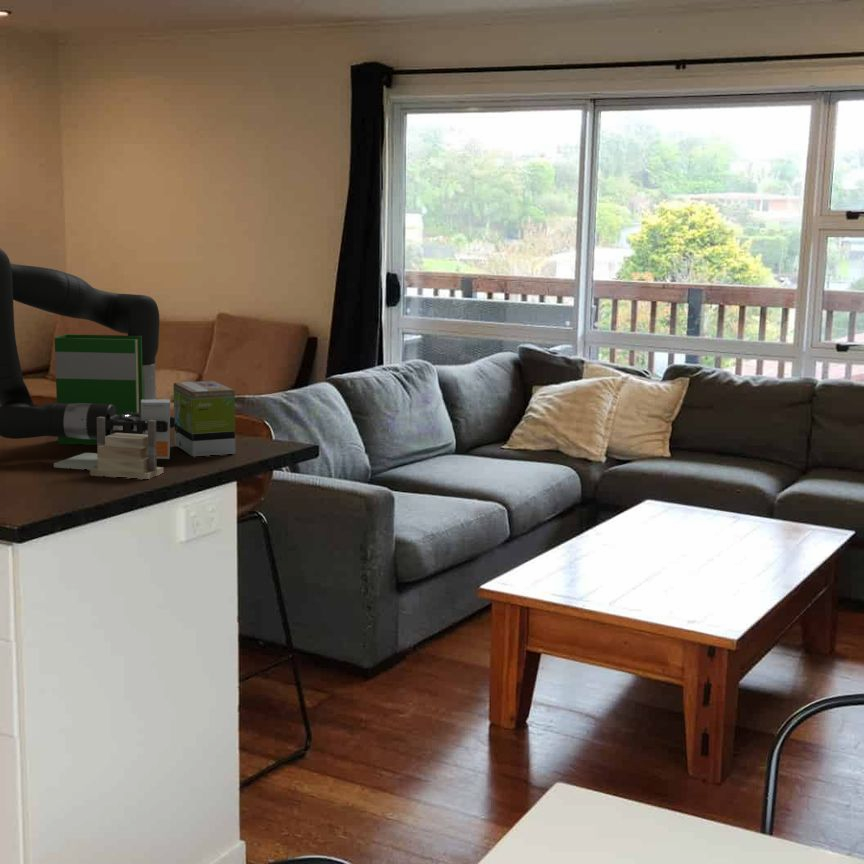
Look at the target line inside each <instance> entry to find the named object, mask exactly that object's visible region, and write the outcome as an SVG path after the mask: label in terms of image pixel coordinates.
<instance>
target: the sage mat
mask: <svg viewBox="0 0 864 864" xmlns="http://www.w3.org/2000/svg"><path fill="white" fill-rule="evenodd" d="M96 467H98V460H97V452H96V453H95V452H83V453H80V454H77V455H74V456H72V457H69V458H66V459H63V460H59V461H57V462H54V463H53V468H60V469H70V468H71V469H74V470H84V469H87V471H90V469H93V468H96Z"/></svg>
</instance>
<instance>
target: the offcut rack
mask: <svg viewBox="0 0 864 864" xmlns="http://www.w3.org/2000/svg"><path fill="white" fill-rule="evenodd" d="M96 446H97V447H96V449H97V452H96V453H97V460H98V467H96V468H93V469H90V470H89V476H90V475H91V477H93V476H95V477H103V476H105V477H107V478H116V477H127V478H126V479H130V478H138V479H137V480H143V479H149V480H151V479H153V477H154V478H155V476H156V477H158V476H161V475H163V474H164V472H165V470H164V469H165V468H164V467H163V466H162V467H161V466H157V465H158V463H157V460H158V459H157V453H156V420H149V421H148V435H143V434H128V433H114V434H111V435H108V436H105V417H97V445H96ZM162 473H163V474H162ZM160 474H161V475H160ZM150 478H151V479H150Z"/></svg>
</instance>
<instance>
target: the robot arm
mask: <svg viewBox="0 0 864 864" xmlns="http://www.w3.org/2000/svg"><path fill="white" fill-rule="evenodd" d="M14 301H15V302H18V303H21V304H23V305H26V306H28V307H33V308H36V309H39V310H42V311H45V312H47V313H52V314H54V315H59V316H62V317H66V318H73V319H76V320H77V319H81V320H87V321H91V322H94V323H97V324H99V325H101V326H103V327H106V328H108V329H110V330H112V331H114V332H117V333H120V334H126V335H127V336H142V372H143V400H152V399H157V395H156V394H157V393H156V392H157V391H156V390H157V389H156V387H157V386H156V357H157V354H158V350H159V344H160V343H159V342H160V341H159V340H160V339H159V338H160V311H159V306H158V305H157V304H158V303H157V302H156V300H154V299H153V298H152V297H151V296H149V295H143V294H131V293H116V292H109V291H106V290H100V289H97V288H94V286H92V285H90V284H89V283H88V282H87V281H85V280H84V279H83V278H81V277H78V276H77V275H76V276H75V275H74V274H70V273H67V272H65V271H61V270H58V269H55V268H54V269H53V268H47V267H41V266H34V265H25V264H24V265H23V264H16V263H12V262H11V261H10V258H9V256H8V255H7V253H6V252H5V250H3V249H2V248H0V437H2V438H5V439H10V440H11V439H12V440H13V439H16V440H17V439H18V440H19V439H31V438H40V437H55V438H58V437H71V438H77V439H95V440H97V417H105V436H108V435H111V434H114V433H128V434H143V432H144V433H147V432H148V421H149V420H141V413H140V412H124V414H120V415H118V414H117V412H116V408H115V406H114V405H112V404H95V403H75V404H64V403H57V402H55V403H54V402H50V403H45V404H42V405H39V406H38V405H37V406H35V405H34V402H33V399H32V397H31V394H30V392H29V389H28V387H27V385H26V383H25V381H24V377H23V373H22V367H21V361H20V357H19V353H18V351H19V350H18V348H17V347H18V346H17V341H16V339H17V338H16V333H15V332H16V331H15V312H14V311H15V309H14ZM172 428H175V418H174V416H170V429H172ZM166 431H168V422H167V421H156V432H166Z"/></svg>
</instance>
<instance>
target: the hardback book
mask: <svg viewBox="0 0 864 864" xmlns="http://www.w3.org/2000/svg"><path fill="white" fill-rule="evenodd" d="M54 359H55V360H54V362H55V363H54V365H55V389H56V391H55V392H56V403H64V404H75V403H95V404H112V405H114V406H115V408H116V412H117V414H118V415H120V414H124V412H140V413H141V400H143V372H142V336H128V335H116V334H114V335H113V334H112V335H111V334H81V333H80V334H75V333H74V334H73V333H71V334H70V333H68V334H67V333H64V334H63V333H62V334H61V335H59V336H57V337H54ZM57 438H58V439H57V442H58V443H57V444H58V445H75V444H83V445H86V446H97V440H95V439H77V438H71V437H57ZM93 444H94V445H93Z"/></svg>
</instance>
